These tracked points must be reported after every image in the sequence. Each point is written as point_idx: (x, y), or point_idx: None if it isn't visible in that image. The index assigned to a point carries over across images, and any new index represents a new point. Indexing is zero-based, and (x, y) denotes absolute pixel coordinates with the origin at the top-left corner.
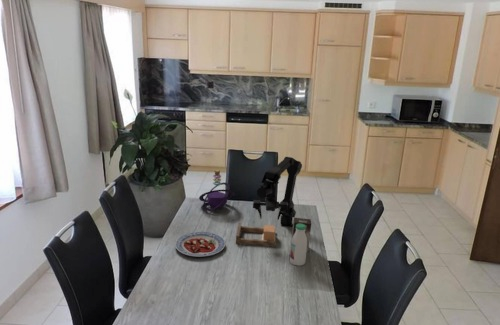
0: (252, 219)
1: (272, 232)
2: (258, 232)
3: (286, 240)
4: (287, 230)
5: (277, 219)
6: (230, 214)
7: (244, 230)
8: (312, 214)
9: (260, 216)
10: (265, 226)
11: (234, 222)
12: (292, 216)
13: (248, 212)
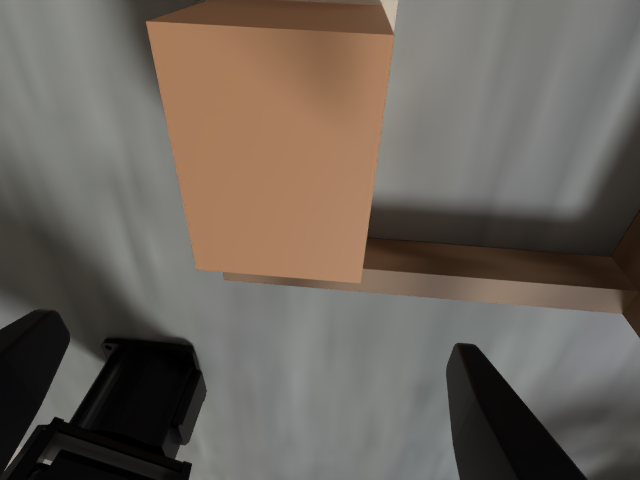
0: (428, 417)
1: (202, 21)
2: (411, 241)
3: (74, 82)
4: (126, 287)
5: (68, 333)
6: (585, 465)
7: (574, 261)
8: None
9: (516, 410)
10: (342, 240)
11: (603, 386)
12: (41, 430)
13: (439, 477)
